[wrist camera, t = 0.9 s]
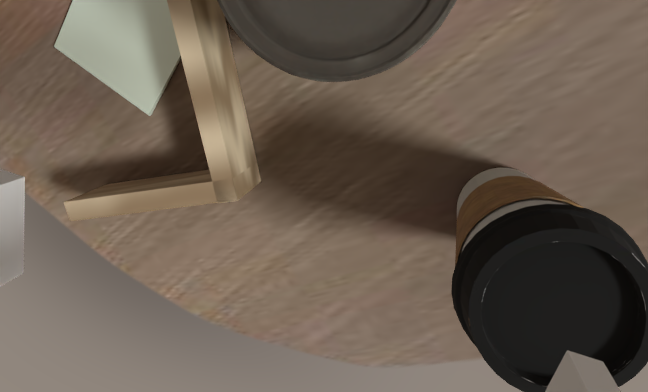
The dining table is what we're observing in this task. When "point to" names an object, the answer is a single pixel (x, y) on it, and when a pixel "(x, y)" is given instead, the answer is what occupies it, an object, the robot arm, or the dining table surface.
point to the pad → (123, 46)
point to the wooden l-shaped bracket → (213, 120)
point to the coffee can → (335, 33)
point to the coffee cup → (546, 281)
